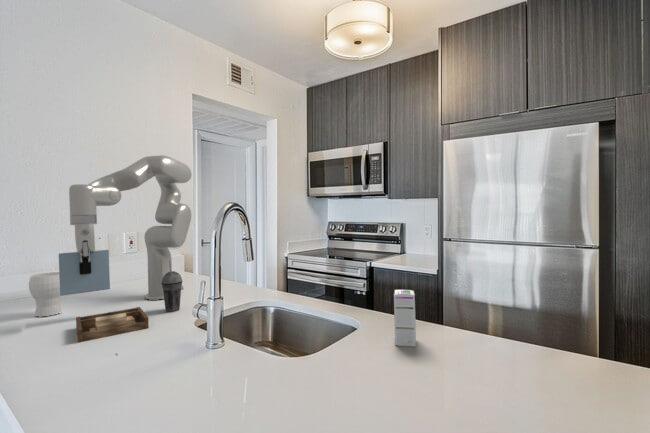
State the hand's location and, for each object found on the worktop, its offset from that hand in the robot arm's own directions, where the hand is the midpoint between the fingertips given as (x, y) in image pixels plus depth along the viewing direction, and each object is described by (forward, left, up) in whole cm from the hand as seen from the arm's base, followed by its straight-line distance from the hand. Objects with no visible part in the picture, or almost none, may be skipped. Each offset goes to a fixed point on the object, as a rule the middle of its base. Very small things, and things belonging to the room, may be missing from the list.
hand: (85, 273), depth 116 cm
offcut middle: (-6, +20, -14) cm, 26 cm away
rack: (-6, +17, -17) cm, 25 cm away
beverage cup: (-26, +9, -17) cm, 32 cm away
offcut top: (-5, +20, -13) cm, 24 cm away
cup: (+11, -20, -17) cm, 28 cm away
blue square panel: (0, 0, -7) cm, 7 cm away
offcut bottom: (-6, +20, -16) cm, 26 cm away
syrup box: (-70, +82, -17) cm, 109 cm away
